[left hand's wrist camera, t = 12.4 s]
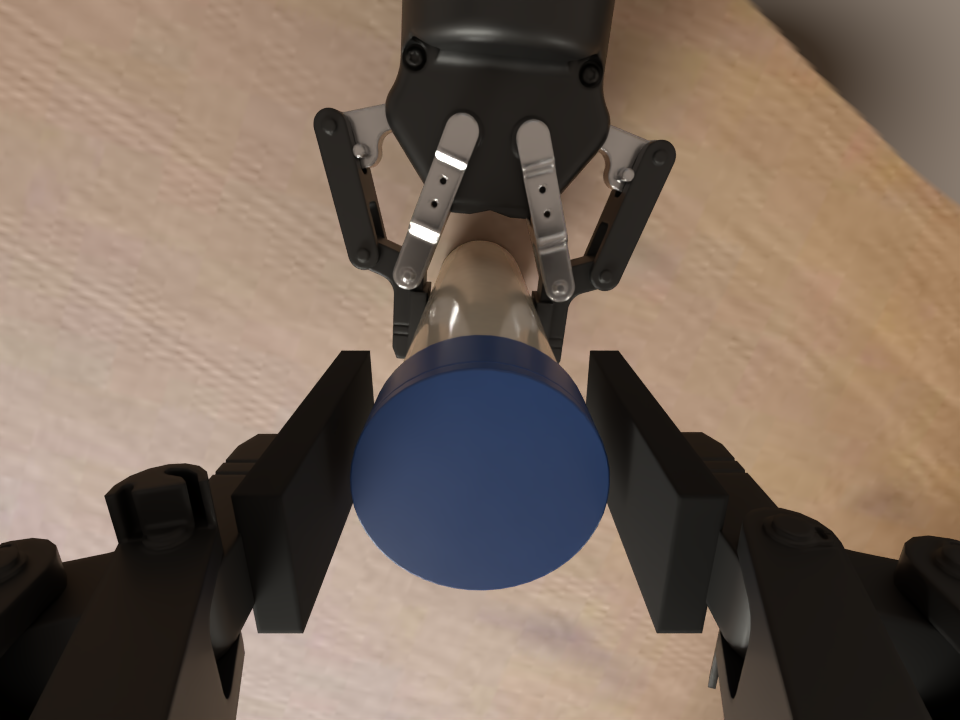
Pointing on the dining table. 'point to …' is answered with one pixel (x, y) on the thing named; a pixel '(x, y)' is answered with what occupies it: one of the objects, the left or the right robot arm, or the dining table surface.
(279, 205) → the dining table surface
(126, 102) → the dining table surface
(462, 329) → the jar
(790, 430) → the dining table surface
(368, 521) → the lid
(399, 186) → the dining table surface
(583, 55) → the right robot arm
